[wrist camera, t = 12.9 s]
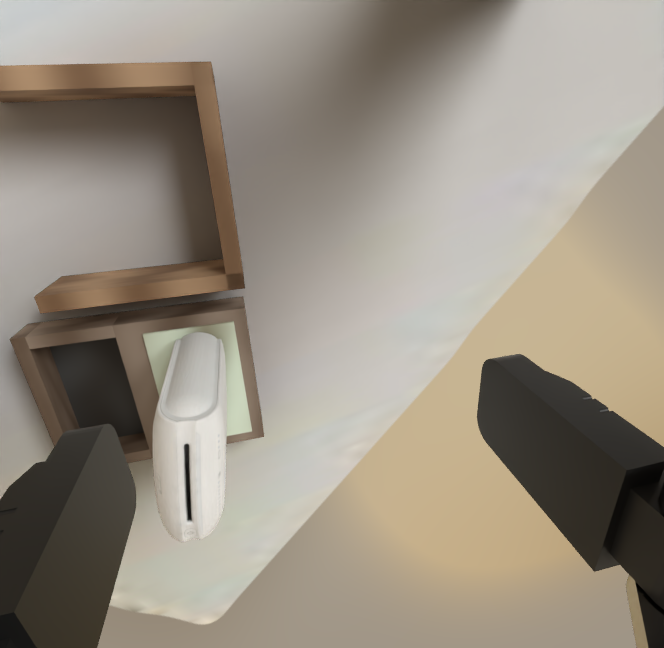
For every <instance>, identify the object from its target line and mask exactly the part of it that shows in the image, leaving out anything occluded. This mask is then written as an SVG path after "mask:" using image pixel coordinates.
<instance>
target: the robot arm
mask: <svg viewBox="0 0 664 648" xmlns="http://www.w3.org/2000/svg"><path fill="white" fill-rule="evenodd" d="M477 420H478V426H479V429H480V432H481V434H482V436H483V438H484V440H485V441H486V443H487V444H488V445H489V446H490V448H491V449H492V450H493V451H494V452H495V454H496V455H497V456H498V457H499V458H500V460H501V461H502V462H503V463H504V464H505V465H506V467H507V468H508V469H509V470H510V471H511V473H512V474H513V475H514V476H515V477H516V479H517V480H518V481H519V482H520V483H521V485H522V486H523V487H524V488H525V489H526V490H527V492H528V493H529V494H530V495H531V496H532V498H533V499H534V500H535V501H536V503H537V504H538V505H539V506H540V507H541V508H542V510H543V511H544V512H545V513H546V514H547V516H548V517H549V518H550V519H551V520H552V522H553V523H554V524H555V525H556V526H557V528H558V529H559V530H560V531H561V532H562V534H563V535H564V536H565V537H566V538H567V540H568V541H569V542H570V543H571V544H572V546H573V547H574V548H575V549H576V550H577V552H578V553H579V554H580V555H581V556H582V558H583V559H584V560H585V561H586V562H587V563H588V565H589V566H590V567H591V568H592V569H593V571H599V570H602V569H605V568H609V567H613V566H616V565H621V566H622V567H623V568H624V569H625V571H626V572H627V573H629V576H628V579H627V583H626V592H627V598H628V603H629V609H630V614H631V620H632V626H633V631H634V636H635V642H636V648H664V447H663V446H661V445H660V444H659V443H657V442H656V441H654V440H653V439H652V438H650V437H649V436H647V435H646V434H644V433H643V432H642V431H640V430H639V429H637V428H636V427H635V426H633V425H632V424H630V423H629V422H627V421H626V420H625V419H623V418H622V417H620V416H619V415H618V414H616V413H615V412H613V411H609V410H608V408H607V407H606V406H605V405H604V404H602V403H601V402H599V401H598V400H596V399H592V398H591V395H589V394H588V393H587V392H585V391H583V390H582V389H581V388H580V387H578V386H577V385H575V384H574V383H572V382H570V381H568V380H566V379H564V378H561V377H559V376H557V375H554V374H552V373H549V372H547V371H544V370H543V369H541V368H540V367H539V366H537V365H536V364H535V363H533V362H532V361H531V360H529V359H528V358H527V357H525V356H523V355H521V354H516V355H510V356H504V357H499V358H493V359H488V360H486V361H485V362H484V364H483V367H482V374H481V383H480V393H479V402H478V411H477ZM135 508H136V490H135V484H134V480H133V477H132V475H131V472H130V469H129V466H128V463H127V461H126V458H125V455H124V452H123V449H122V447H121V444H120V441H119V438H118V435H117V433H116V430H115V429H114V427H113V426H112V425H111V424H103V425H97V426H92V427H86V428H80V429H74V430H68V431H66V432H64V433H63V434H62V436H61V437H60V439H59V440H58V442H57V444H56V445H55V447H54V449H53V450H52V452H51V453H50V455H49V457H48V458H47V460H46V461H45V462H40V463H35V464H34V465H33V466H32V467H31V468H30V469H29V470H28V471H26V472H25V473H24V474H23V475H22V476H21V477H20V478H19V479H17V480H16V481H15V482H14V483H13V484H12V485H11V486H9V488H8V489H7V491H6V492H5V494H4V495H3V497H2V498H1V500H0V648H97V646H98V642H99V639H100V635H101V632H102V628H103V625H104V621H105V617H106V614H107V610H108V607H109V603H110V600H111V596H112V592H113V589H114V585H115V582H116V578H117V575H118V571H119V568H120V564H121V560H122V557H123V553H124V550H125V546H126V543H127V539H128V535H129V532H130V528H131V525H132V521H133V518H134V514H135Z"/></svg>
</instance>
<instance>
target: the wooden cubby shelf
mask: <svg viewBox="0 0 664 648" xmlns="http://www.w3.org/2000/svg"><path fill="white" fill-rule="evenodd" d="M177 96H196V99H197V105H198V111H199V117H200V123H201V129H202V135H203V141H204V147H205V153H206V159H207V165H208V171H209V177H210V183H211V189H212V195H213V201H214V207H215V213H216V219H217V225H218V230H219V236H220V242H221V248H222V254H223V259H218V260H209V261H200V262H191V263H181V264H172V265H163V266H154V267H145V268H136V269H126V270H117V271H108V272H99V273H90V274H81V275H71V276H62V277H61V278H59V279H58V280H56V281H55V282H54V283H52V284H51V285H50V286H48V287H47V288H46V289H44V290H43V291H41V292H40V293H39V294H37V295H36V296H35V297H34V298H35V301H36V303H37V306H38V309H39V311H40V313H48V312H56V311H64V310H72V309H80V308H88V307H96V306H104V305H112V304H121V303H129V302H137V301H145V300H153V299H161V298H169V297H177V296H185V295H193V294H202V293H210V292H218V291H226V290H234V289H242V288H245V285H244V276H243V268H242V261H241V255H240V248H239V241H238V235H237V228H236V221H235V215H234V208H233V201H232V195H231V188H230V181H229V174H228V168H227V161H226V154H225V148H224V141H223V134H222V128H221V121H220V114H219V108H218V101H217V94H216V88H215V81H214V75H213V70H212V65H211V62H169V63H118V64H67V65H16V66H0V102H3V103H4V102H33V101H62V100H91V99H119V98H148V97H177Z"/></svg>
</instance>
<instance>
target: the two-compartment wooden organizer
mask: <svg viewBox="0 0 664 648" xmlns="http://www.w3.org/2000/svg"><path fill="white" fill-rule="evenodd" d="M195 332H204V333H208V334H211V335H213V336H215V337H216V338H217V339H221V340H222V343H223V347H224V353H225V363H226V386H227V440H226V444H229V443H234V442H239V441H244V440H249V439H254V438H260V437H264V432H263V423H262V416H261V409H260V403H259V396H258V390H257V383H256V377H255V370H254V364H253V357H252V351H251V344H250V338H249V331H248V324H247V318H246V311H245V305H244V298H243V297H235V298H227V299H219V300H211V301H203V302H196V303H188V304H180V305H172V306H164V307H156V308H148V309H141V310H133V311H125V312H117V313H109V314H101V315H93V316H86V317H78V318H70V319H62V320H54V321H46V322H38V323H31V324H27V325H26V326H25V327H24V328H23V329H21V330H20V331H19V332H18V333H17V334H15V335H14V336H13V337H12V338H11V339H10V341H11V343H12V346H13V348H14V351H15V353H16V355H17V358H18V360H19V363H20V365H21V367H22V370H23V372H24V375H25V377H26V379H27V382H28V384H29V387H30V389H31V391H32V394H33V396H34V399H35V401H36V403H37V406H38V408H39V410H40V413H41V415H42V418H43V420H44V422H45V425H46V427H47V430H48V432H49V434H50V437H51V439H52V442H53V444H54V446H55V445H56V444H57V442H58V440H59V439H60V437H61V436H62V434H63V433H64V432H66V431H68V430H74V429H80V428H86V427H92V426H97V425H103V424H111V425H112V426H113V427H114V429H115V430H116V433H117V435H118V438H119V441H120V444H121V447H122V449H123V452H124V455H125V458H126V461H127V463H130V462H135V461H141V460H146V459H151V458H153V446H152V445H153V421H154V417H155V412H156V408H157V404H158V401H159V397H160V394H161V390H162V386H163V383H164V379H165V376H166V372H167V368H168V365H169V361H170V357H171V354H172V350H173V346H174V343H175V341H176V340H177V339H182V338H183V337H184V336H186V335H188V334H190V333H195Z"/></svg>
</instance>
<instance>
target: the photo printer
mask: <svg viewBox="0 0 664 648" xmlns="http://www.w3.org/2000/svg"><path fill="white" fill-rule="evenodd" d="M226 440H227V386H226V363H225V353H224V347H223V343H222V340H221V339H217V338H216V337H215V336H213V335H211V334H208V333H204V332H195V333H190V334H188V335H186V336H184V337H183V338H182V339H177V340H176V341H175V343H174V346H173V350H172V354H171V357H170V361H169V365H168V368H167V372H166V376H165V379H164V383H163V386H162V390H161V394H160V397H159V401H158V404H157V408H156V412H155V417H154V421H153V445H152V446H153V472H154V483H155V492H156V500H157V506H158V512H159V514H160V517H161V520H162V522H163V524H164V526H165V528H166V530H167V531H168V533H169V534H170V535H171V536H172V537H173V538H174V539H176V540H178V541H180V542H185V541H187V540H190V539H199V540H200V539H202V538H205V537H206V536H208V535H209V534H210V533H211V532H212V531H213V530H214V529H215V527H216V526H217V524H218V522H219V520H220V518H221V515H222V512H223V508H224V502H225V483H226Z"/></svg>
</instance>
